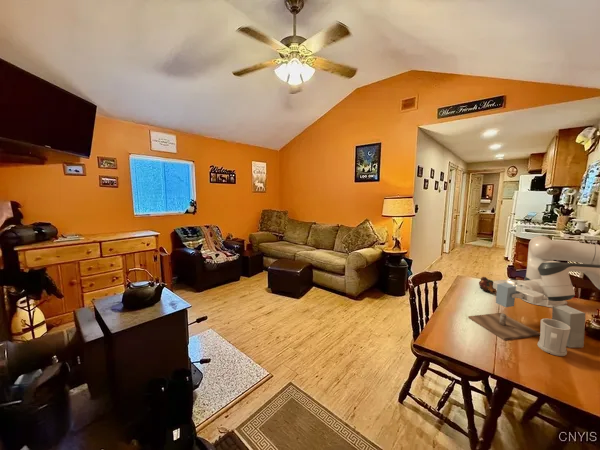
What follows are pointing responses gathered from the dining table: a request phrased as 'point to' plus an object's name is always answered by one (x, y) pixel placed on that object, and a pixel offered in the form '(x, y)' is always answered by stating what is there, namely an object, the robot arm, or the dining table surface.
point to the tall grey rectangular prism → (505, 294)
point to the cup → (553, 337)
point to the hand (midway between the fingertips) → (504, 293)
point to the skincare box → (571, 324)
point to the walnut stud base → (504, 326)
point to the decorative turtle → (487, 285)
